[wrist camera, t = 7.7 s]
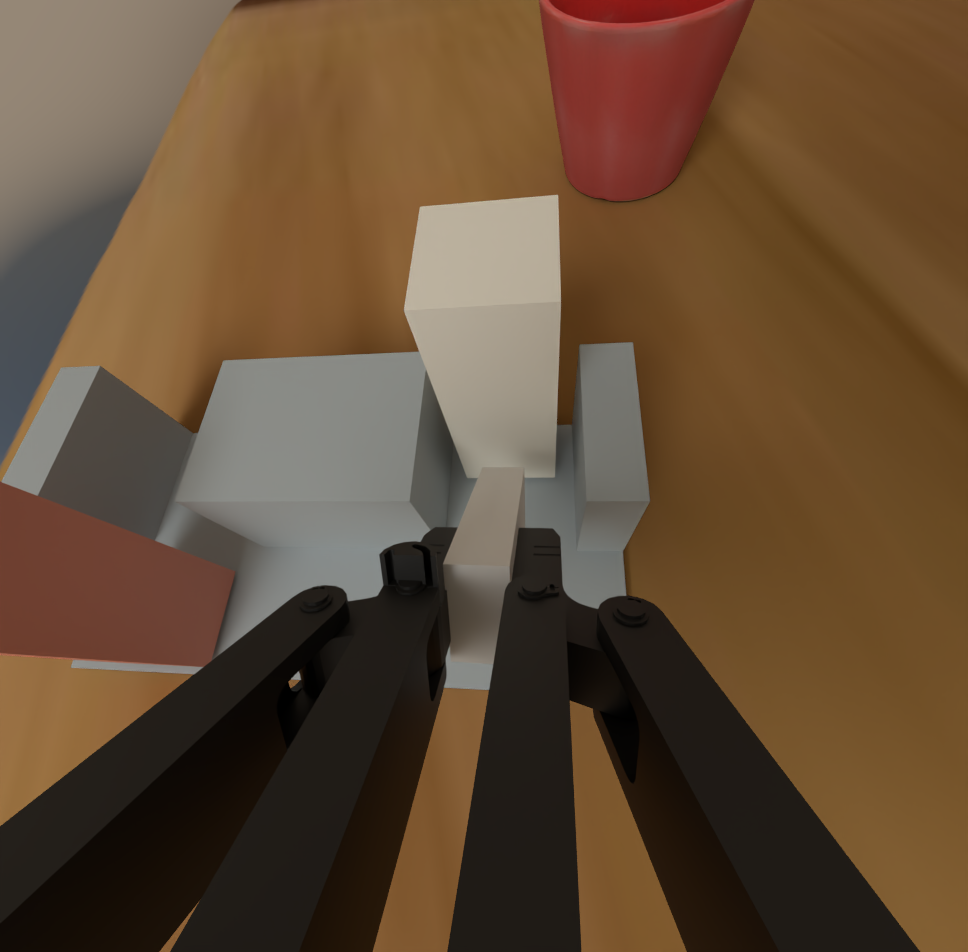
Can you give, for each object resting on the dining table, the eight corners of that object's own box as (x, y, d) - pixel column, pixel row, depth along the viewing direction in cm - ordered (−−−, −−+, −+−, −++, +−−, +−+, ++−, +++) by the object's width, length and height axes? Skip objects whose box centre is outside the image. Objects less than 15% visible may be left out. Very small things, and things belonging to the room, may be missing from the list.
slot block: (611, 430, 24) (633, 342, 18) (631, 697, 18) (671, 700, 13) (168, 438, 27) (61, 367, 21) (82, 668, 22) (-92, 659, 16)
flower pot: (549, 123, 35) (550, -65, 26) (703, 117, 33) (759, -89, 24) (532, 219, 31) (527, 32, 22) (707, 218, 29) (776, 14, 20)
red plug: (235, 571, 22) (-23, 473, 12) (209, 667, 20) (-117, 645, 10) (155, 569, 22) (-154, 474, 13) (123, 663, 21) (-265, 637, 11)
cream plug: (553, 402, 24) (557, 194, 14) (554, 477, 22) (560, 301, 12) (472, 404, 24) (420, 206, 14) (467, 478, 22) (403, 310, 13)
